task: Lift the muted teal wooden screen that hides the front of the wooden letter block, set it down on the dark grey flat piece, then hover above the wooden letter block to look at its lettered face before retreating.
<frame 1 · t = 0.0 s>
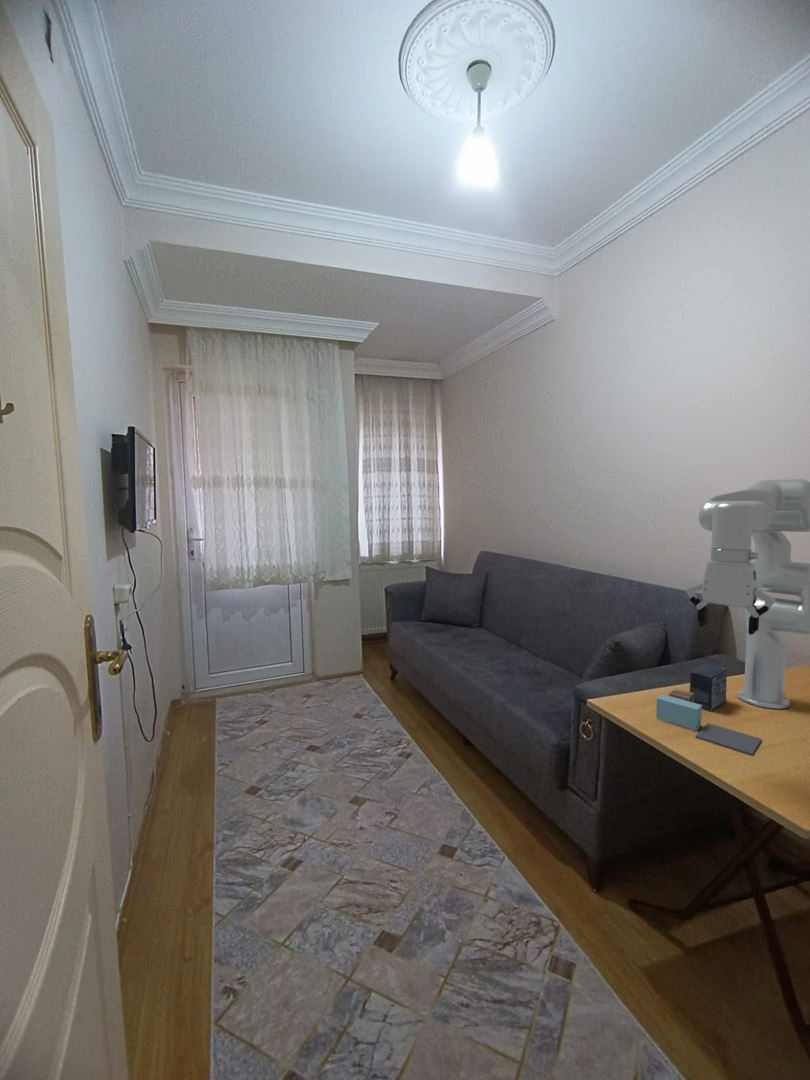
hand: (726, 629, 111), 31 cm above the table, tool pointing down, fingers open, 9 cm apart
dark grey flat piece: (728, 739, 122), on the table
wooden letter block: (681, 709, 139), on the table
teal screen: (678, 722, 132), on the table
small box: (707, 704, 143), on the table
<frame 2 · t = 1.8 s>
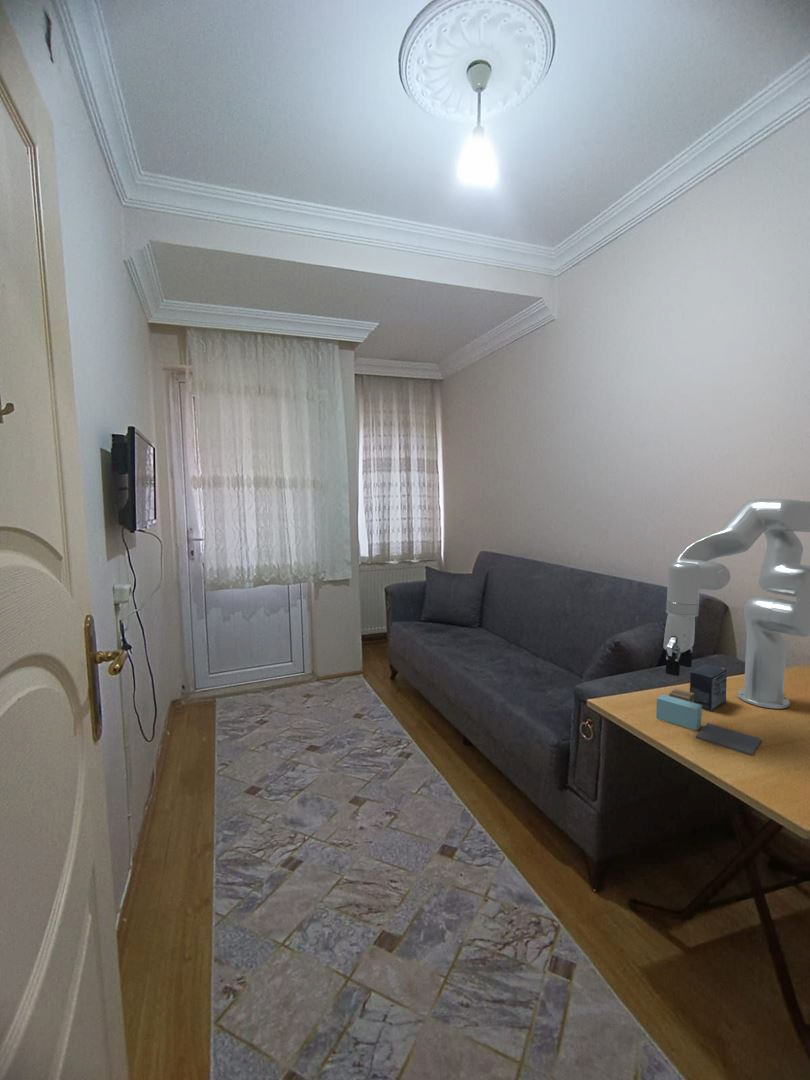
hand: (678, 670, 130), 15 cm above the table, tool pointing down, fingers open, 9 cm apart
nothing on the table moved.
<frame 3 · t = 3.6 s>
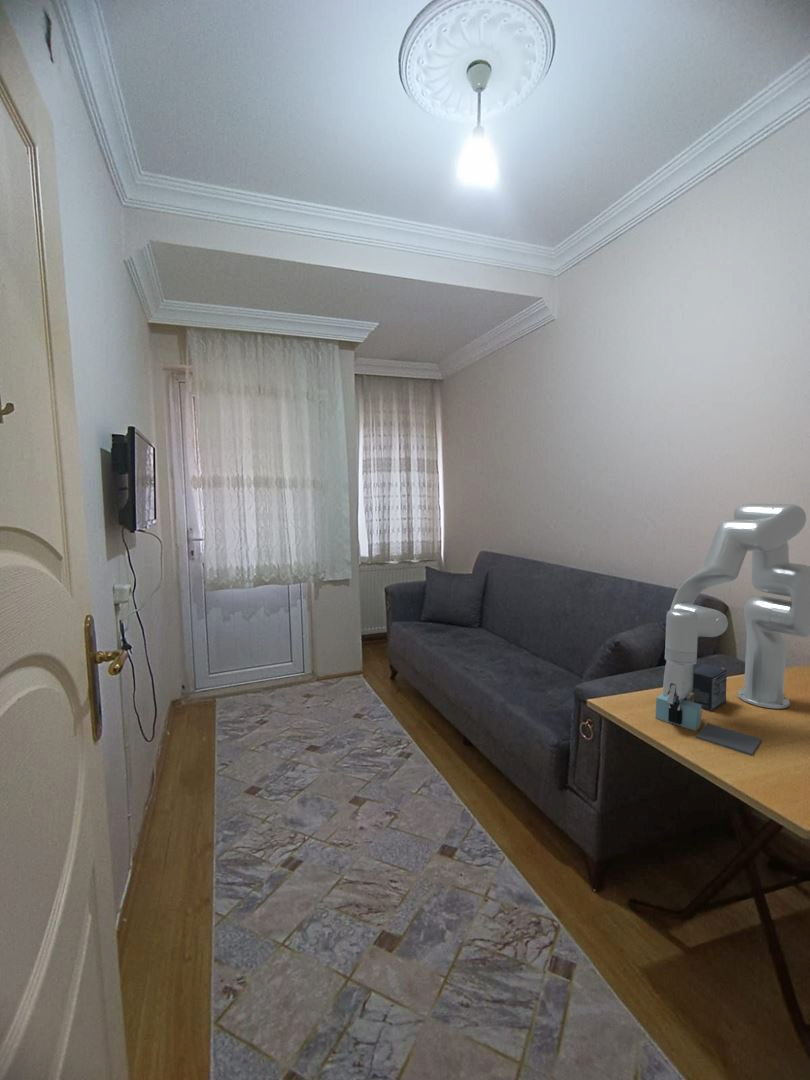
hand: (678, 719, 132), 1 cm above the table, tool pointing down, fingers closed on teal screen, 4 cm apart
teal screen: (677, 722, 132), on the table, touching gripper
everything else where it was.
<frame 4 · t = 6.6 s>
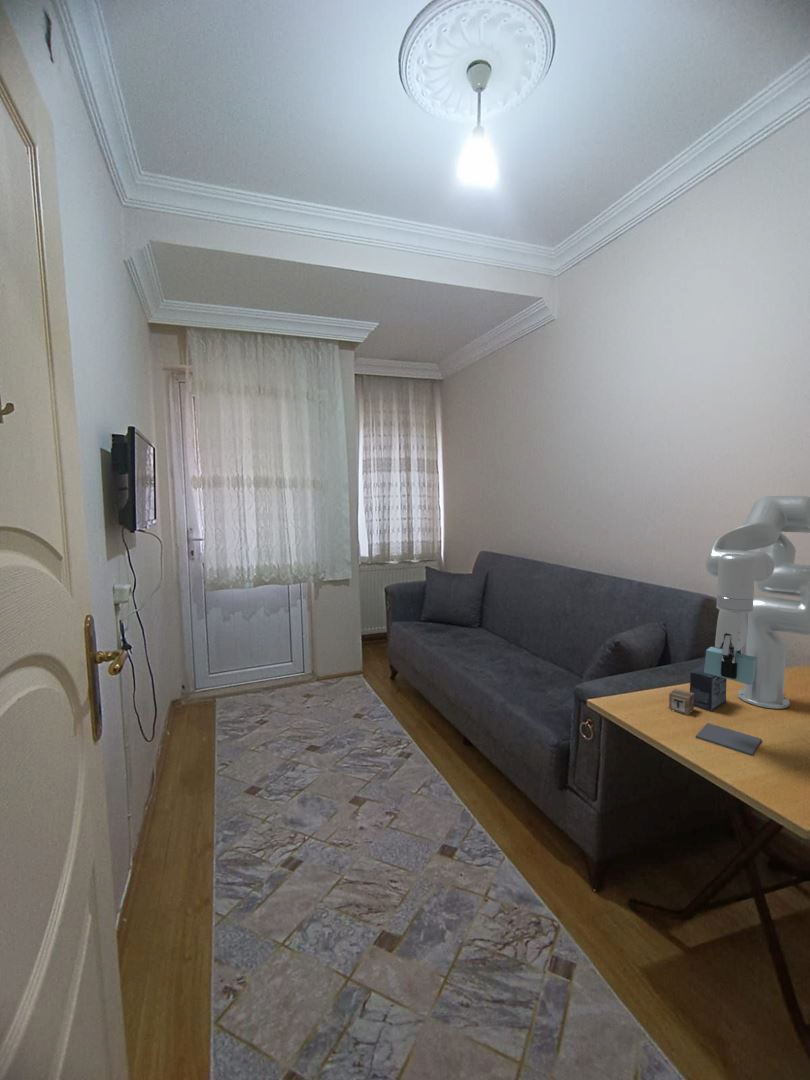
hand: (731, 674, 121), 17 cm above the table, tool pointing down, fingers closed on teal screen, 4 cm apart
teal screen: (728, 676, 121), point 16 cm above the table, touching gripper
everything else where it was.
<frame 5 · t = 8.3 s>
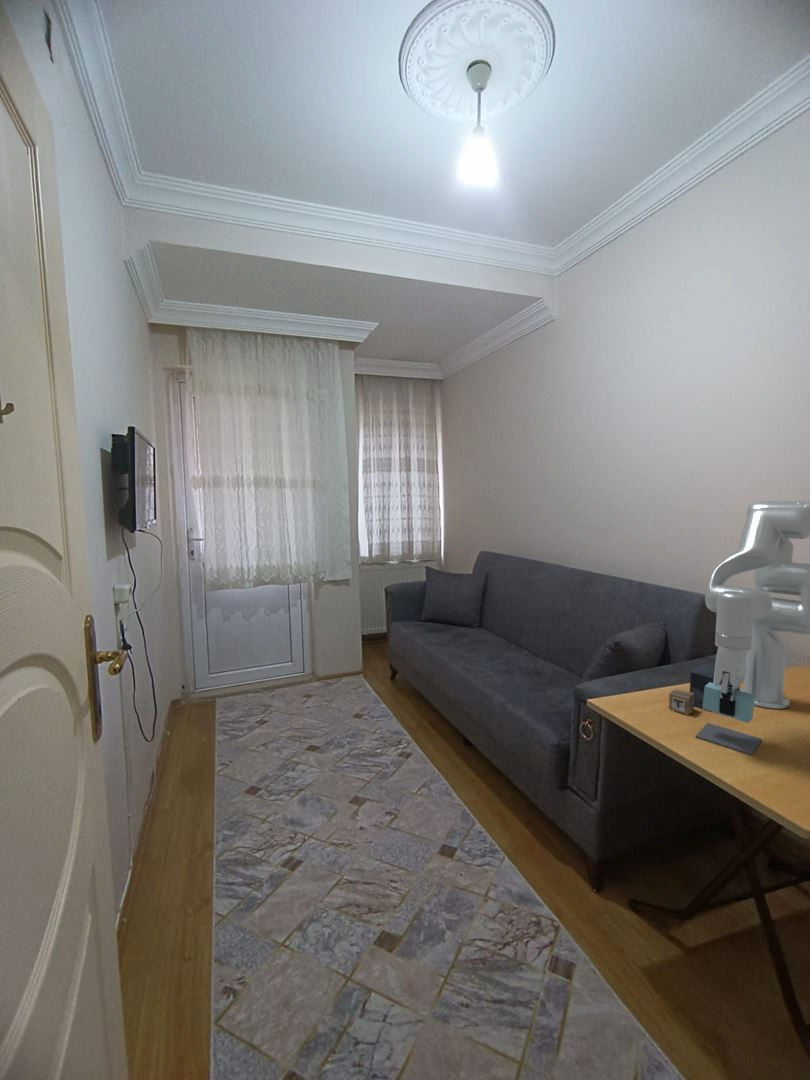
hand: (729, 710, 121), 8 cm above the table, tool pointing down, fingers closed on teal screen, 4 cm apart
teal screen: (726, 713, 122), point 7 cm above the table, touching gripper
everything else where it was.
when the fingers open (3 cm above the table, at t = 9.6 s): teal screen drops 1 cm, resting on dark grey flat piece.
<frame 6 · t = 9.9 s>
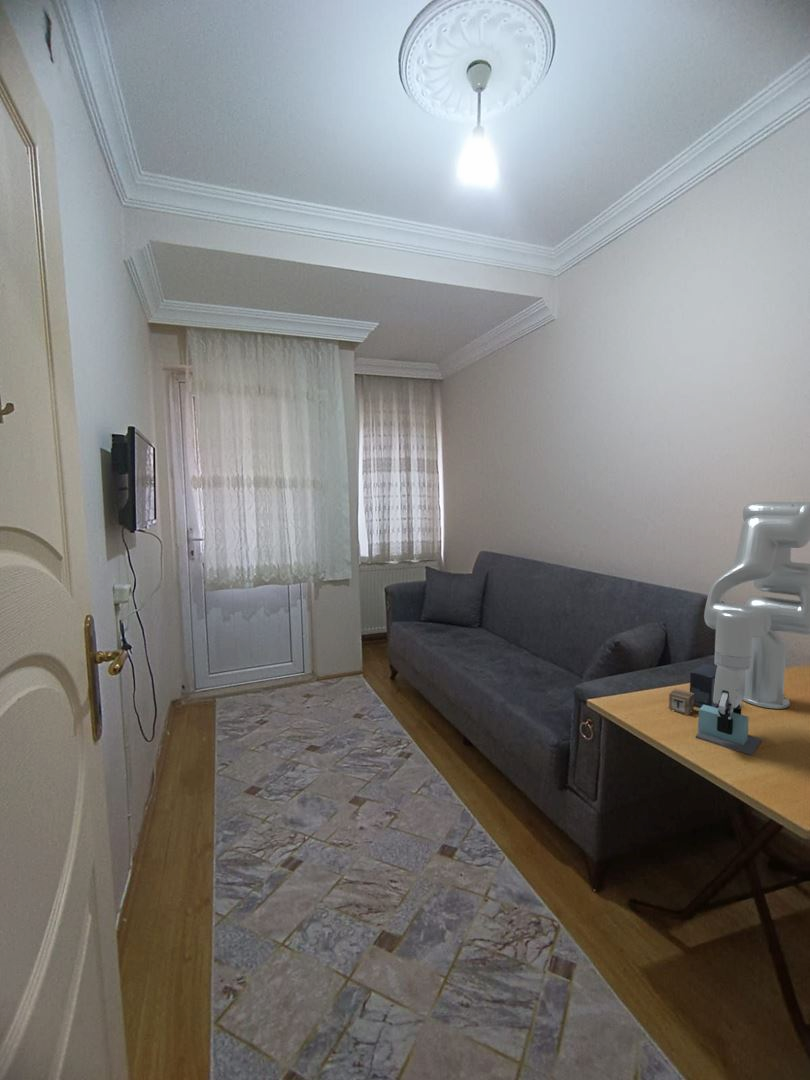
hand: (728, 726, 122), 3 cm above the table, tool pointing down, fingers open, 7 cm apart
teal screen: (722, 735, 123), resting on dark grey flat piece
everything else where it was.
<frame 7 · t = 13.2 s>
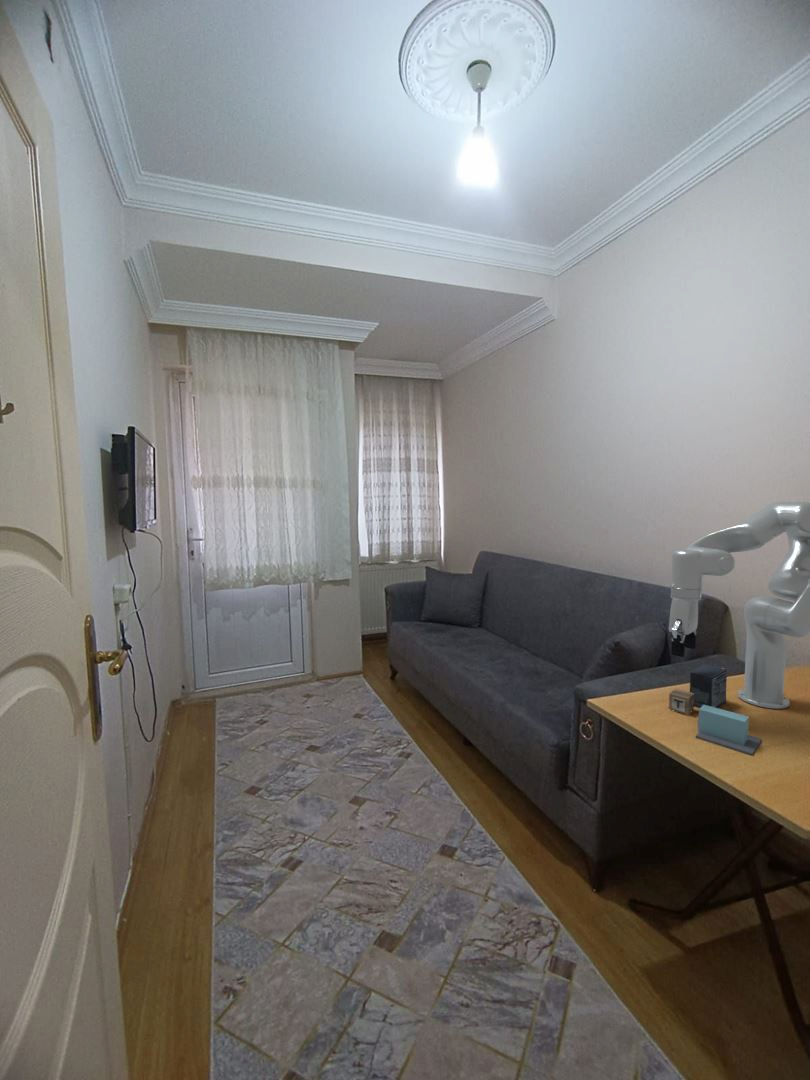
hand: (683, 651, 138), 17 cm above the table, tool pointing down, fingers open, 9 cm apart
nothing on the table moved.
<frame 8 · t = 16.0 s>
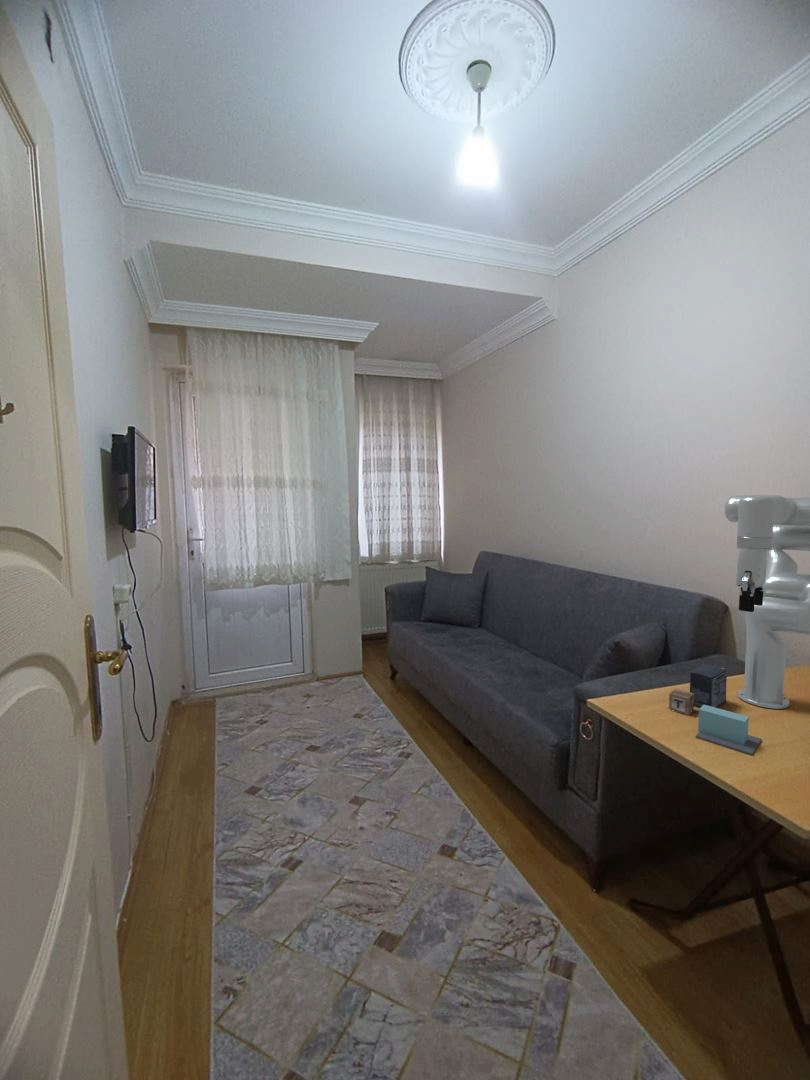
hand: (750, 607, 127), 32 cm above the table, tool pointing down, fingers open, 9 cm apart
nothing on the table moved.
at the end: teal screen 1.3 cm off-centre on the dark grey flat piece, point 0.5 cm above the dark grey flat piece's base; teal screen tilted 0°; wooden letter block moved 0.1 cm from its start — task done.
